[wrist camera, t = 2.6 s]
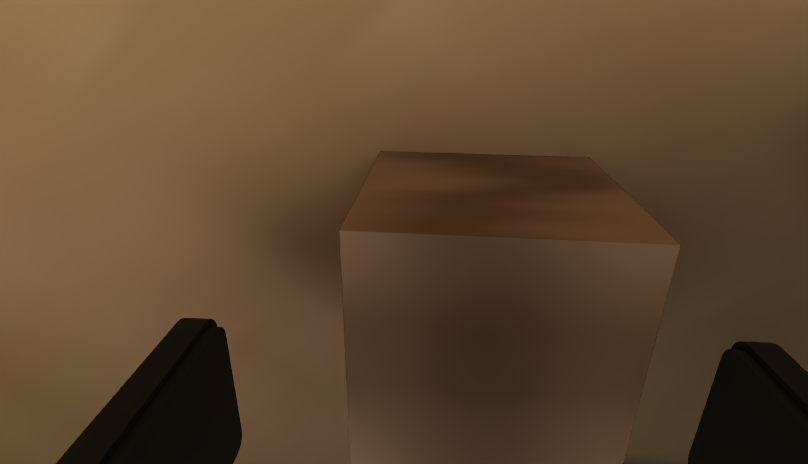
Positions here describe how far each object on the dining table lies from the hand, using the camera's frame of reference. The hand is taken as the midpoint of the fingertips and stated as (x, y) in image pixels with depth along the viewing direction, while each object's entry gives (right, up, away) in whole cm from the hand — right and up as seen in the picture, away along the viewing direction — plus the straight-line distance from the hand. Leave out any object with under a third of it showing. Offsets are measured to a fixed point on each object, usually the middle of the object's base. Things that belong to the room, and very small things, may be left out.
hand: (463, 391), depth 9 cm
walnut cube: (+1, +3, +6) cm, 7 cm away
